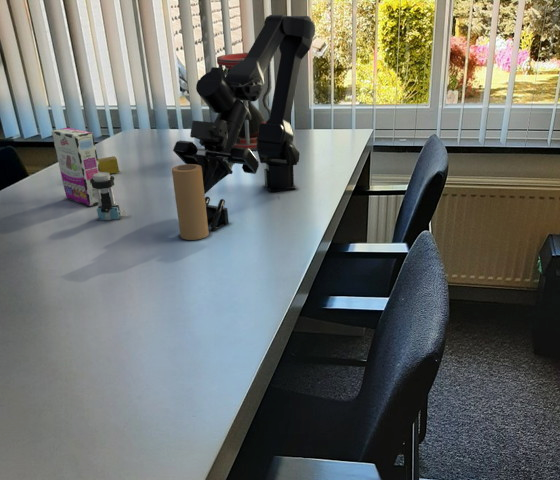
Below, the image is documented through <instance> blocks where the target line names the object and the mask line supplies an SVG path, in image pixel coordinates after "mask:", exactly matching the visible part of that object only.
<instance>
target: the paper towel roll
mask: <svg viewBox="0 0 560 480" xmlns="http://www.w3.org/2000/svg"><path fill="white" fill-rule="evenodd" d="M171 175H172V176H171V177H172V183H173V190H174V191H173V192H174V198H175V204H176V213H177V220H178V221H177V222H178V227H179V236H180V238H181V239H182V240H187V241H196V240H202V239H204V238H207V237H208V236H209V234H210V232H209V223H208V222H207V212H206V203H205V197H206V195H205V194H204V184H203V175H202V167H201V166H200V165H196V164H185V163H184V164H180V165H179V164H178V165H175V166H172V167H171Z"/></svg>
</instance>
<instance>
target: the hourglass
mask: <svg viewBox="0 0 560 480" xmlns="http://www.w3.org/2000/svg"><path fill="white" fill-rule="evenodd" d="M247 54H248V52H239V53H237V52H236V53H229V54H223V55H218V56H217V57H216V64H217V65H218V67H219V68H221V70H222V71H223V72H224V70H223V69H224V67H225V69H226V74H227V73H228V72H229V71H230V70H231V69H232V67H233V66H234V65H236V64H238V63H239V62H241V61H243V60H244V59H245V57H246V56H247ZM272 60H273V58H272V59H271V61H270V63H269V65H268V67H267V68H266V77H267V78H266V79H267V88H266V91H265V93H264V94H263V97H262V105H263V107H264V109H265V110H266V111H267V113H268V118H269V117H270V112H271V107H270V106H269V104H268V97H269V95H270V93H271V91H272V87H273V86H272V84H273V83H272ZM223 66H224V67H223ZM242 102H243V104H244V105H245V106H246V107H249V112H250V114H251V120H244V122H243V125H242V128H241V130H240V133H239V138H240V139H241V141H240V144H237V143H235V146H234V147H243V148H249V149H250V151H257V148H256V144H257V140H256V139H257V137H258V133H259V126H260V124H261V123H266V120H265V117H264V115H263V114H262V112H261V111H260V110H259V109H258V108H257V107H256V106H255V105H254V104H253V102H252V101H242Z"/></svg>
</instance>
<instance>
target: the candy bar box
mask: <svg viewBox="0 0 560 480" xmlns="http://www.w3.org/2000/svg"><path fill="white" fill-rule="evenodd" d="M51 136H52V140H53V145H54V149H55V154H56V159H57V163H58V167H59V171H60V177H61V181H62V184H63V190H64V192H65V198H66V199H67V200H70V201H73V202H76V203H79V204H82V205H85V206H88V207H92V206H96V205H98V204H99V202H98V198H97V193H96V188H93V187H92V183H90V179H92V178H93V175H94V174H96V173H100V168H99V163H98V159H99V158H98V153H97V147H96V142H95V137H94V132H90V131H86V130H82V129H78V128H77V129H76V128H73V127H64V128H59V129H54V130H51ZM100 194H101V191H100Z"/></svg>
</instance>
